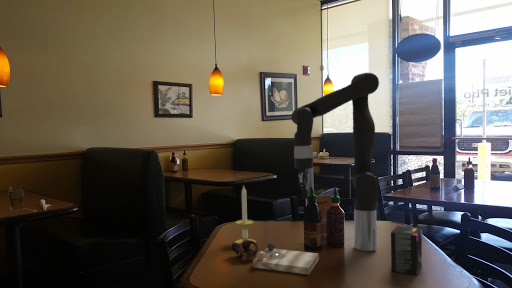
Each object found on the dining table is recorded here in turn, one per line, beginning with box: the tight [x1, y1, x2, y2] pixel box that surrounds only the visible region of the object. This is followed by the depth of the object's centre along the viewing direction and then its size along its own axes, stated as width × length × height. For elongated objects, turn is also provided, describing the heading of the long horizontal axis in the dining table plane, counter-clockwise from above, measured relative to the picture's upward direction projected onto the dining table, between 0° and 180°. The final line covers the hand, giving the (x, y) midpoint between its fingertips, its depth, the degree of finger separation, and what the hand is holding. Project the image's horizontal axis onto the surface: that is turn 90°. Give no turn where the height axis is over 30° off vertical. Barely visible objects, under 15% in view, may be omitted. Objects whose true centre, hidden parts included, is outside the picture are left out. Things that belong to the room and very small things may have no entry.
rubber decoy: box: [266, 241, 276, 250], centre depth 162 cm, size 3×3×3 cm
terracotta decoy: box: [255, 250, 265, 260], centre depth 151 cm, size 3×3×3 cm
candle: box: [234, 185, 257, 247], centre depth 180 cm, size 10×10×27 cm
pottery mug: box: [230, 240, 260, 262], centre depth 161 cm, size 12×10×8 cm
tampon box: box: [390, 225, 423, 276], centre depth 145 cm, size 11×9×15 cm
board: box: [252, 248, 320, 275], centre depth 153 cm, size 22×16×2 cm
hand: (305, 198), depth 161 cm, fingers closed
